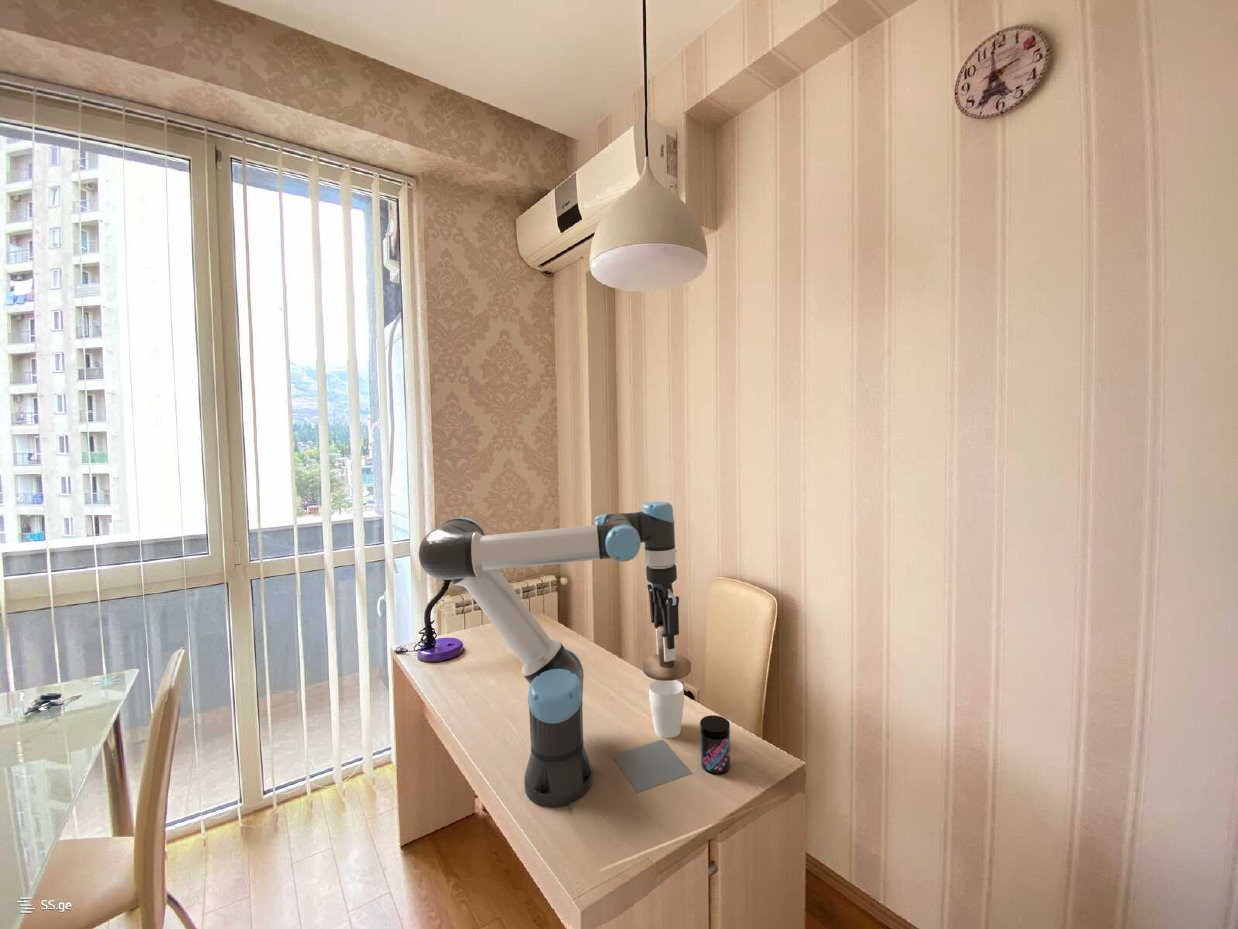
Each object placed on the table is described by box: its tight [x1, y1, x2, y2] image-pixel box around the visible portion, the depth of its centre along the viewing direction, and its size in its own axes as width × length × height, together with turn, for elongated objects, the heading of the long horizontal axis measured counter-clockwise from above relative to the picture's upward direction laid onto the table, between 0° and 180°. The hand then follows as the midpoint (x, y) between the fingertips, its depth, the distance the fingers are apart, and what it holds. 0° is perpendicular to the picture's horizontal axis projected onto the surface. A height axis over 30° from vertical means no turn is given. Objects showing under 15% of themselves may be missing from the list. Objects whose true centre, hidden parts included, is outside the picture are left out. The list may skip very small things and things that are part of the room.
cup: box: [648, 679, 685, 739], centre depth 131 cm, size 9×9×12 cm
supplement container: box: [699, 714, 731, 776], centre depth 116 cm, size 7×7×10 cm
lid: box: [642, 625, 692, 681], centre depth 126 cm, size 12×12×10 cm
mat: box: [611, 739, 693, 794], centre depth 118 cm, size 14×14×1 cm
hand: (666, 656), depth 127 cm, fingers closed on lid, 4 cm apart
